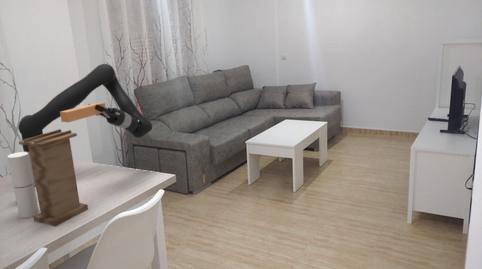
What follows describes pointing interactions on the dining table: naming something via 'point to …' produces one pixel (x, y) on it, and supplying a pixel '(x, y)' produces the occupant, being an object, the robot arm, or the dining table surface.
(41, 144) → the walnut stand
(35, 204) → the cylindrical container
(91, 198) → the dining table surface
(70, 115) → the orange bar
